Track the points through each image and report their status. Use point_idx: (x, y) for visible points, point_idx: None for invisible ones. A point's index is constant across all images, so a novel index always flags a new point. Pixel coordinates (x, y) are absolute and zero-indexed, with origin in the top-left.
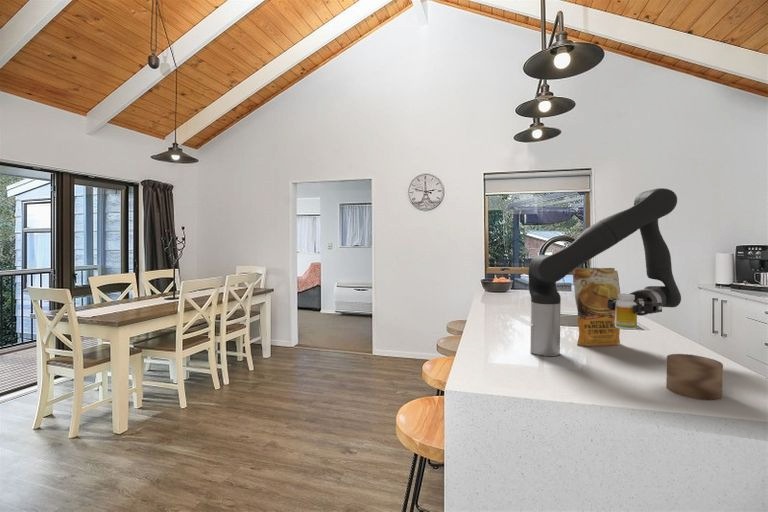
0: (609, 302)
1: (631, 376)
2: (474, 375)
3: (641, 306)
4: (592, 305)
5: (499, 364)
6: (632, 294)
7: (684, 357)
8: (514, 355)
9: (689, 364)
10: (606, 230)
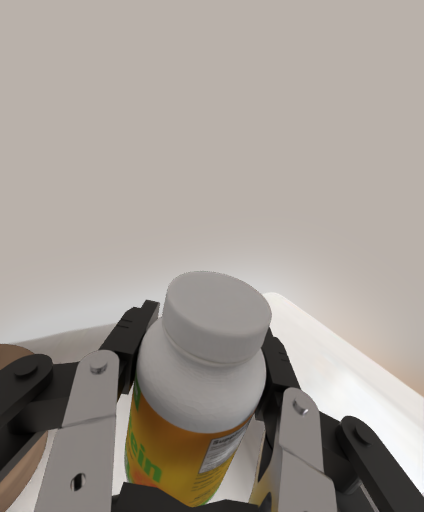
0: (336, 425)
1: None
2: (300, 320)
3: (113, 338)
4: None
5: (333, 369)
6: (186, 314)
7: None
8: (397, 451)
9: (6, 350)
10: None
